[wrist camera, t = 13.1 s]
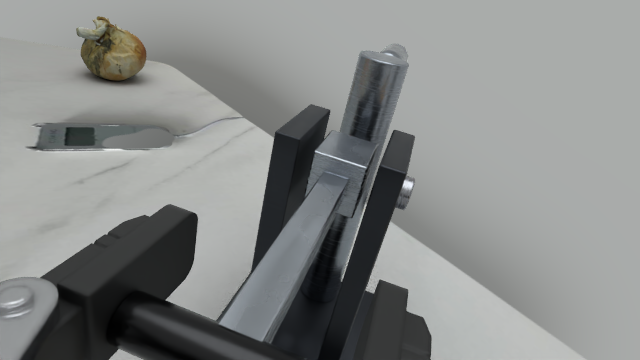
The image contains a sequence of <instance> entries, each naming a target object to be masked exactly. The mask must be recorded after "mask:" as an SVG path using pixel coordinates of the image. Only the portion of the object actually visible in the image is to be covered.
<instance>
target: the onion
mask: <svg viewBox="0 0 640 360" xmlns="http://www.w3.org/2000/svg"><path fill="white" fill-rule="evenodd" d="M93 22H94V23H95V25H96V29H95V30H91V29H86V28H81V27H78V28H77V29H76V30H77V35H78V36H80V37H82V38H85V41H84V43H83V45H82V48H81V57H82V59H83V61H84V63H85V64H86V66H87V68H88V69H89V70H90V71H91V72H92V73H94V74H95V75H97V76H99V77H102V78H104V79H109V80H114V81H116V80H118V81H120V80H125V79H127V78H129V77H132V76H134V75H135V74H137V73H138V72H139V71H140V70H141V69H142V68H143V67H144V64H145V61H146V50H145V47H144V45H143V44H142V42H141V41H140V40H139V39H138V38H137V37H136V36H134V35H133V34H131V33H129V32H128V31H125V30H122V29H120V28H119V27H117V26H116V25H115V26H116V27H115V26H114V25H112V24H110V22H109V19H106V18H104V17H97V20H93Z"/></svg>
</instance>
